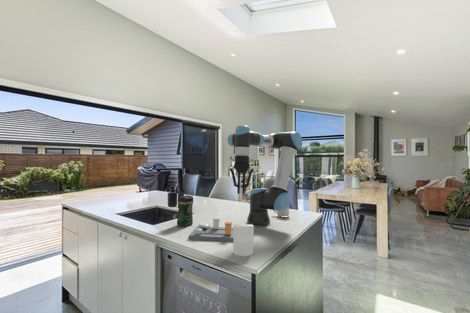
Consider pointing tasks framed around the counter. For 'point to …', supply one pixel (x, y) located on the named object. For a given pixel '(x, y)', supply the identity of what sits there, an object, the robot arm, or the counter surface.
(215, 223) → the slider
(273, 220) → the counter surface
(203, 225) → the light grey flat piece
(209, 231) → the panel
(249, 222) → the robot arm
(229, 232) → the slider
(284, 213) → the teacup with lid
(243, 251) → the cylinder with rectangular tab
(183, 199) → the coffee jar
